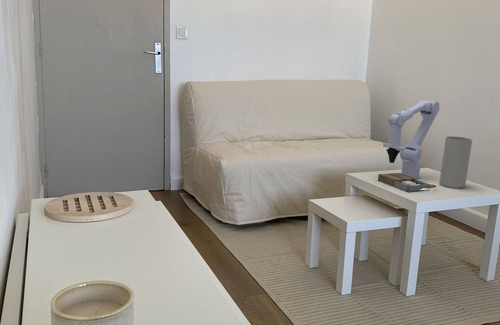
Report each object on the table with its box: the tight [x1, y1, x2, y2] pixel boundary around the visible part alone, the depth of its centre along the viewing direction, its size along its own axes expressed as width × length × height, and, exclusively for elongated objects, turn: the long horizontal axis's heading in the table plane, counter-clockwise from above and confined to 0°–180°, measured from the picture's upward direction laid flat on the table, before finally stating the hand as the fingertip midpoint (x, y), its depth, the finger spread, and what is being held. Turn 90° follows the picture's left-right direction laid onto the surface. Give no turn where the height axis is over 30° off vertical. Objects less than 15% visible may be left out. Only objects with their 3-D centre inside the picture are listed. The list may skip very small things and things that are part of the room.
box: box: [393, 179, 431, 193], centre depth 238 cm, size 14×10×3 cm
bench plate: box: [377, 172, 415, 188], centre depth 248 cm, size 14×12×4 cm
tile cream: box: [402, 181, 415, 186], centre depth 241 cm, size 5×4×2 cm
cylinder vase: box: [439, 135, 473, 189], centre depth 246 cm, size 12×12×25 cm
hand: (391, 162), depth 252 cm, fingers closed
